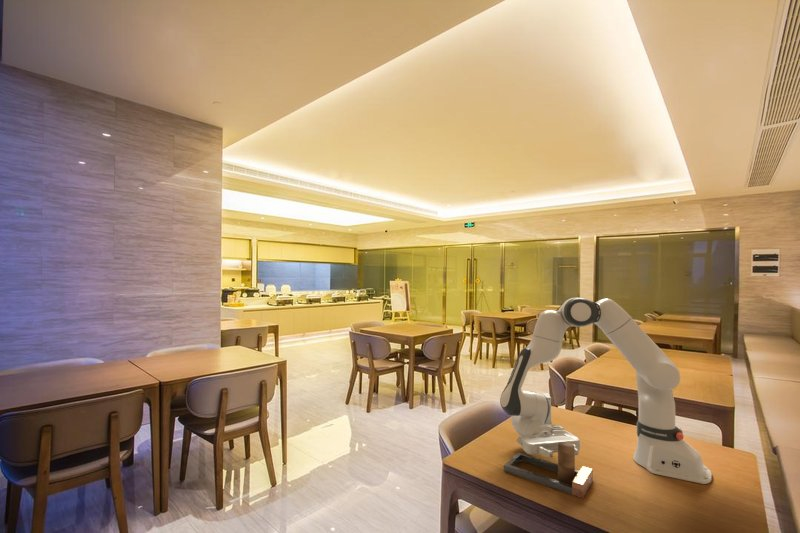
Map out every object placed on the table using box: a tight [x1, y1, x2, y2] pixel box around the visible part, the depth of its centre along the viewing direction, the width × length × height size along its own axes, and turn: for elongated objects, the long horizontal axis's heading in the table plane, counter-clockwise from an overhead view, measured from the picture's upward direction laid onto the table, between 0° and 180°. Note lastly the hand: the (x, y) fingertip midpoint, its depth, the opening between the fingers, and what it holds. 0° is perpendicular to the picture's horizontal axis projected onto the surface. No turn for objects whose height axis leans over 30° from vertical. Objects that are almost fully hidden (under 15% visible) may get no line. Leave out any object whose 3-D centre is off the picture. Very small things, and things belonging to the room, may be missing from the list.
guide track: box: [503, 452, 594, 499], centre depth 129 cm, size 25×12×4 cm, turn 51°
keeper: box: [557, 442, 576, 485], centre depth 125 cm, size 5×5×12 cm
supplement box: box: [541, 392, 552, 425], centre depth 176 cm, size 7×7×13 cm
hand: (563, 453), depth 127 cm, fingers open, 8 cm apart
